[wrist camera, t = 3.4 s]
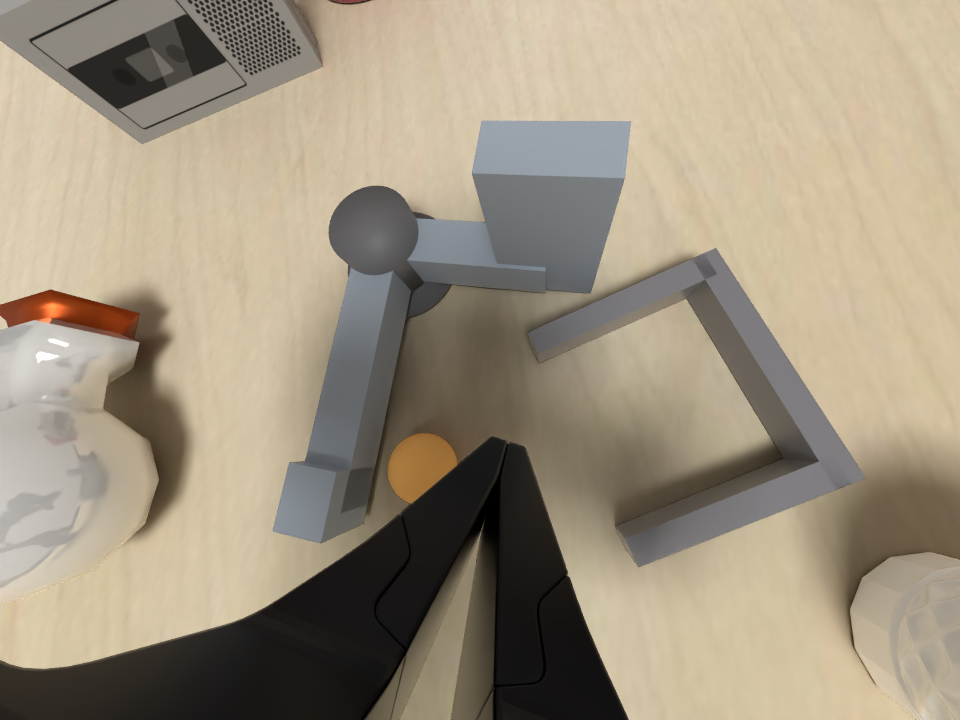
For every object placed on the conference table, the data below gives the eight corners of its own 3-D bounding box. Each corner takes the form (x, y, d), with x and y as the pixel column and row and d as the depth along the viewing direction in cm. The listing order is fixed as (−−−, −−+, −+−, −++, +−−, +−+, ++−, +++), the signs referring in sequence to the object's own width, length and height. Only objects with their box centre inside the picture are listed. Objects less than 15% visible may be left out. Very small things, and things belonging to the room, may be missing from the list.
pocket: (626, 550, 19) (638, 567, 16) (530, 344, 22) (528, 332, 19) (823, 473, 18) (865, 478, 16) (696, 270, 21) (715, 247, 18)
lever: (557, 568, 18) (569, 695, 9) (306, 510, 21) (122, 565, 12) (597, 239, 21) (634, 88, 12) (372, 225, 24) (265, 92, 15)
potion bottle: (136, 576, 24) (162, 358, 29) (157, 574, 18) (185, 297, 23) (-127, 629, 18) (-36, 339, 23) (-238, 654, 12) (-79, 249, 17)
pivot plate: (446, 325, 23) (445, 323, 22) (339, 313, 24) (336, 311, 24) (466, 217, 24) (465, 214, 24) (363, 211, 25) (361, 209, 25)
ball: (432, 513, 21) (409, 528, 17) (390, 465, 22) (361, 470, 18) (477, 465, 21) (464, 471, 17) (433, 420, 22) (412, 416, 18)
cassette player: (143, 145, 30) (-48, 5, 20) (141, 118, 31) (-45, -29, 21) (323, 67, 29) (209, -123, 19) (317, 41, 29) (203, -156, 20)
